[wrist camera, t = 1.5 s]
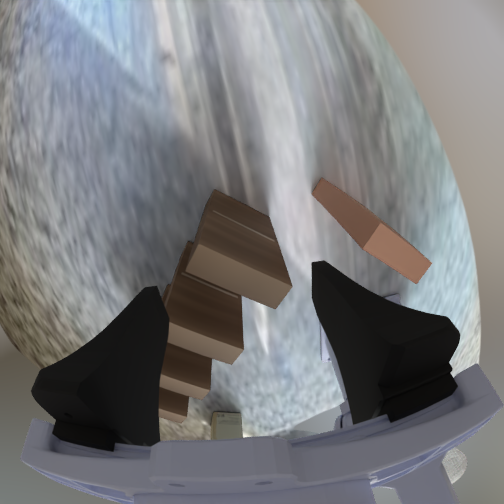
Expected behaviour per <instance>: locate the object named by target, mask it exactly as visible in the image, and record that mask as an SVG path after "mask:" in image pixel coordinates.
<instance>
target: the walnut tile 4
mask: <svg viewBox="0 0 504 504" xmlns="http://www.w3.org/2000/svg"><path fill="white" fill-rule="evenodd" d="M185 271H186V272H188V273H191V274H193V275H195V276H197V277H200V278H202V279H204V280H206V281H209V282H211V283H213V284H216V285H218V286H220V287H223V288H225V289H227V290H230V291H232V292H234V293H237V294H239V295H242V296H244V297H246V298H249V299H251V300H254V301H256V302H259V303H261V304H264V305H266V306H268V307H271V308H273V309H276V308H277V307H278V305H279V304H280V303H281V301H282V300H283V299H284V297H285V296H286V295H287V293H288V292H289V291H290V289H291V288H292V287H293V286H292V283H291V280H290V277H289V274H288V271H287V268H286V265H285V262H284V259H283V256H282V253H281V250H280V247H279V244H278V241H277V238H276V235H275V232H274V229H273V226H272V223H271V220H270V217H268V216H266V215H264V214H262V213H261V212H259V211H257V210H255V209H253V208H251V207H249V206H247V205H245V204H243V203H241V202H239V201H237V200H235V199H233V198H231V197H229V196H227V195H225V194H223V193H221V192H219V191H217V190H215V189H214V191H213V193H212V195H211V196H210V198H209V200H208V202H207V204H206V206H205V209H204V212H203V215H202V218H201V221H200V224H199V227H198V231H197V234H196V237H195V240H194V243H193V247H192V250H191V253H190V257H189V260H188V263H187V267H186V270H185Z"/></svg>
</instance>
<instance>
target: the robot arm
mask: <svg viewBox="0 0 504 504" xmlns="http://www.w3.org/2000/svg"><path fill="white" fill-rule="evenodd" d="M312 300H313V303H314V307H315V310H316V313H317V316H318V318H319V321H320V332H321V360H322V362H324V363H325V362H330V361H331V362H332V365H333V368H334V371H335V374H336V377H337V380H338V383H339V386H340V389H341V392H342V395H343V398H344V401H345V402H343V403H342V404H340V405H339V406H340V409H341V412H342V415H340V416H338V417H337V418H336V421H335V426H334V430H333V431H329V432H325V433H320V434H316V435H311V436H307V437H302V438H296V439H291V440H285V439H283V438H279V437H272V436H260V437H245V438H234V439H219V440H170V441H160V433H159V387H160V377H161V371H162V366H163V361H164V356H165V351H166V346H167V341H168V335H169V321H170V318H169V316H168V313H167V311H166V308H165V306H164V303H163V301H162V298H161V296H160V293H159V291H158V288H157V286H152V287H145V288H144V289H143V290H142V291H141V292H140V293H139V294H138V295H137V296H136V297H135V298H134V299H133V300H132V301H131V302H130V303H129V304H128V305H127V307H126V308H125V309H124V310H123V311H122V312H121V313H120V314H119V315H118V316H117V317H116V318H115V319H114V320H113V321H112V322H111V323H110V324H109V325H108V326H107V327H106V328H105V329H104V330H103V331H101V332H100V333H99V334H98V335H97V336H96V337H94V338H93V339H92V340H91V341H89V342H88V343H87V344H85V345H84V346H82V347H81V348H80V349H78V350H77V351H75V352H74V353H72V354H70V355H69V356H67V357H65V358H64V359H62V360H60V361H58V362H56V363H54V364H52V365H50V366H48V367H46V368H43V369H41V370H40V371H39V374H38V376H37V378H36V380H35V383H34V385H33V387H32V390H31V392H32V395H33V397H34V399H35V400H36V401H37V403H38V404H39V405H40V406H41V407H42V408H44V409H45V410H46V411H47V412H48V413H49V414H50V415H51V416H52V417H53V418H54V419H56V422H55V425H53V424H51V423H49V422H47V421H43V420H40V419H36V418H33V419H32V422H31V425H30V428H29V431H28V434H27V437H26V441H25V444H24V447H23V451H22V454H21V458H20V459H21V461H22V462H24V463H25V464H27V465H28V466H30V467H31V468H33V469H35V470H36V471H38V472H40V473H41V474H43V475H45V476H47V477H48V478H50V479H52V480H54V481H56V482H58V483H61V484H63V485H66V486H69V487H71V488H74V489H77V490H80V491H82V492H86V493H88V494H91V495H94V496H98V497H101V498H104V499H108V500H111V501H115V502H119V503H122V504H376V502H375V499H374V495H373V492H372V488H375V487H385V488H392V489H395V491H396V493H397V495H398V497H399V499H400V501H401V503H402V504H460V503H459V500H458V498H457V495H456V493H455V491H454V488H453V486H452V483H451V481H450V479H449V477H448V474H447V472H446V470H445V468H444V466H443V464H442V461H443V459H444V457H445V456H446V454H447V452H448V451H449V450H451V449H453V448H454V447H456V446H457V445H459V444H461V443H462V442H464V441H465V440H467V439H468V438H470V437H471V436H473V435H474V434H475V433H476V432H478V430H480V429H481V428H482V427H483V426H484V425H485V424H486V423H487V422H488V421H489V420H490V419H491V418H493V416H494V415H495V414H496V413H497V412H498V411H499V410H500V409H501V408H502V407H503V403H502V401H501V399H500V398H499V396H498V395H497V393H496V391H495V390H494V388H493V386H492V385H491V383H490V381H489V380H488V378H487V377H486V375H485V374H484V372H483V371H482V369H481V368H480V366H479V365H478V364H474V365H473V366H471V367H469V368H467V369H466V370H464V371H462V372H460V373H459V374H457V375H456V376H455V377H454V378H453V377H452V375H451V374H450V372H451V371H452V367H451V365H450V364H449V361H450V360H451V358H452V356H453V354H454V352H455V350H456V348H457V346H458V344H459V341H460V333H459V331H458V329H457V328H456V327H455V326H454V324H453V323H452V322H451V320H450V319H449V318H448V317H446V316H440V315H435V314H430V313H425V312H421V311H418V310H414V309H411V308H408V307H405V306H402V305H401V304H400V296H399V295H398V294H395V295H392V296H388V297H385V298H383V297H381V296H379V295H377V294H375V293H373V292H371V291H369V290H368V289H366V288H364V287H362V286H361V285H359V284H358V283H356V282H354V281H353V280H351V279H350V278H348V277H347V276H346V275H344V274H343V273H341V272H340V271H339V270H337V269H336V268H334V267H333V266H332V265H330V264H329V263H327V262H326V261H318V262H312Z"/></svg>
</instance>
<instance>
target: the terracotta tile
mask: <svg viewBox="0 0 504 504" xmlns="http://www.w3.org/2000/svg"><path fill="white" fill-rule="evenodd" d="M312 195H313V196H314V197H315V198H316V199H317V200H318V201H319V202H320V203H321V204H322V205H323V206H324V207H325V208H326V210H327V211H328V212H329V213H330V214H331V215H332V216H333V217H334V218H335V219H336V220H337V221H338V222H339V223H340V225H341V226H342V227H343V228H344V229H345V230H346V231H347V232H348V233H349V234H350V236H351V237H352V238H353V239H354V240H355V241H356V242H357V243H358V245H359V246H360V247H361V248H362V249H363V250H365V251H366V252H368V253H369V254H371V255H373V256H374V257H376V258H377V259H379V260H380V261H382V262H384V263H385V264H387V265H388V266H390V267H391V268H393V269H394V270H396V271H397V272H399V273H400V274H402V275H403V276H405V277H406V278H408V279H409V280H411V281H412V282H414V283H415V284H417V283H418V282H419V280H420V279H421V278H422V276H423V275H424V274H425V272H426V271H427V270H428V268H429V267H430V265H431V264H432V263H431V262H430V261H429V260H428V259H427V258H426V257H425V256H424V255H423V254H421V253H420V252H419V251H418V250H417V249H416V248H415V247H414V246H412V245H411V244H410V243H409V242H408V241H407V240H405V239H404V238H403V237H402V236H401V235H400V234H398V233H397V232H396V231H395V230H394V229H392V228H391V227H390V226H389V225H387V224H386V223H385V222H384V221H382V220H381V219H380V218H379V217H377V216H376V215H375V214H374V213H372V212H371V211H370V210H368V209H367V208H366V207H364V206H363V205H362V204H360V203H359V202H357V201H356V200H354V199H353V198H352V197H350V196H349V195H347V194H346V193H344V192H343V191H341V190H340V189H338V188H337V187H335V186H334V185H332V184H331V183H329V182H328V181H326V180H325V179H323V178H321V180H320V181H319V183H318V184H317V186H316V188H315V189H314V191H313V192H312Z"/></svg>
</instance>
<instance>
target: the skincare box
mask: <svg viewBox="0 0 504 504" xmlns="http://www.w3.org/2000/svg"><path fill="white" fill-rule="evenodd" d="M234 438H243V434H242V417H241V413H226V412H213V417H212V423H211V440H219V439H234Z"/></svg>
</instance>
